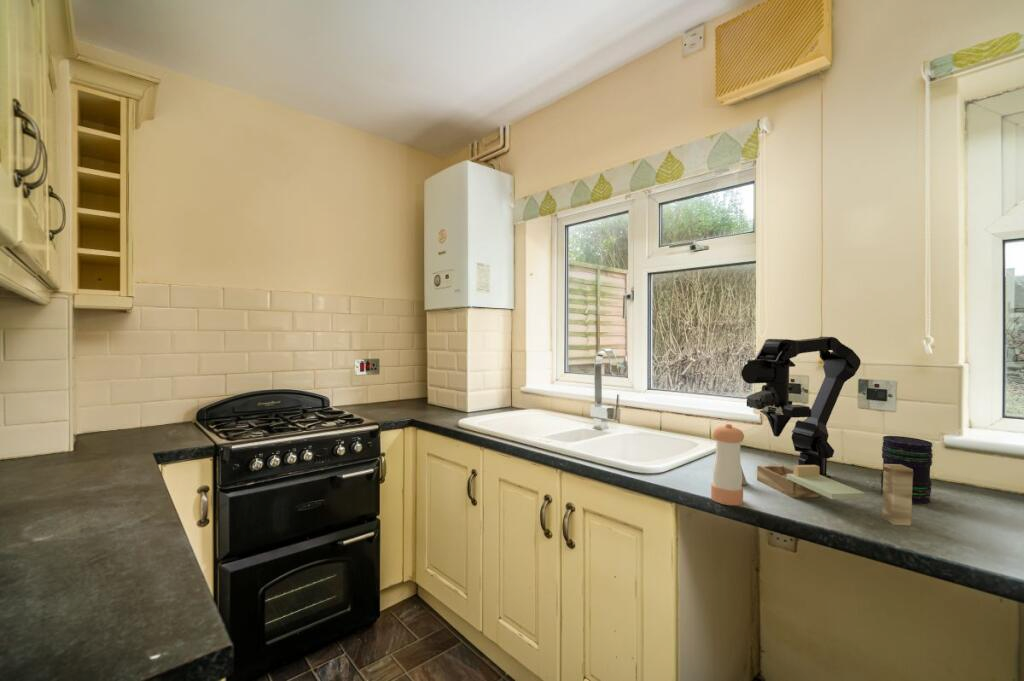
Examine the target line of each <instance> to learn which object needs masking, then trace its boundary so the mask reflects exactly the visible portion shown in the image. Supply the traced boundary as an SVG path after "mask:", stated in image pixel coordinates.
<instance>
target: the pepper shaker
mask: <svg viewBox="0 0 1024 681" xmlns="http://www.w3.org/2000/svg"><path fill="white" fill-rule="evenodd" d="M712 436H713V438H714V439H715V440H716V441H715V442H716V444H715V458H714V463H713V469H712V483H711V484H710V486H711V487H710V488H711V489H710V498H711V500H712V501H714V502H716V503H719V504H721V505H726V506H741V505H742V504H743V503H744V488H743V485H742V470H743V468H742V469H741V467H742V464H741V462H742V461H741V443H742V442H743V440H744V439H745V434H744V432H743V431H742V430H741V429H739V428H737V427H734V426H733V425H732V424H730V423H725V425H724V426H723V425H722V426H718V427H716V428H715V429H714V430H713V432H712Z"/></svg>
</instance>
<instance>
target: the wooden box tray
mask: <svg viewBox="0 0 1024 681" xmlns="http://www.w3.org/2000/svg"><path fill="white" fill-rule="evenodd" d="M786 474H793V468H790V467H788V466H785V465H783V464H782V465H779V464H778V465H757V468H756V480H757V481H758V482H759V483H760V482H761V483H763V484H764V485H766V486H768V487H770V488H772V489H774V490H776V491H777V492H780V493H782V494H783V495H785V496H788V497H790V498H792V499H797V498H798V499H801V498H803V499H805V498H822V495H821V494H819V493H817V492H815V491H813V490H811V489H808V488H806V487H804V486H802V485H800V484H797V483H795V482H793V481H791V480H789V479H786Z"/></svg>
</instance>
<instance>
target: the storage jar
mask: <svg viewBox="0 0 1024 681" xmlns="http://www.w3.org/2000/svg"><path fill="white" fill-rule="evenodd" d="M882 441H883V442H882V446H881V458H882V467H883V466H884V464H899V465H903V466H906V467H908V468H911V469H913V483H912V505H918V504H919V506H921V505H920V504H926V505H929V504H930V503H931V499H930V498H931V494H932V480H931V466H933V443H932V442H931V441H929V440H925V439H921V438H915V437H910V436H900V435H885V436H884V435H883V436H882ZM883 472H884V470H883V469H882V472H881V473H880V478H881V479H880V486H881V490H880V494H881V495H882V496H883ZM928 503H929V504H928Z"/></svg>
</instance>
